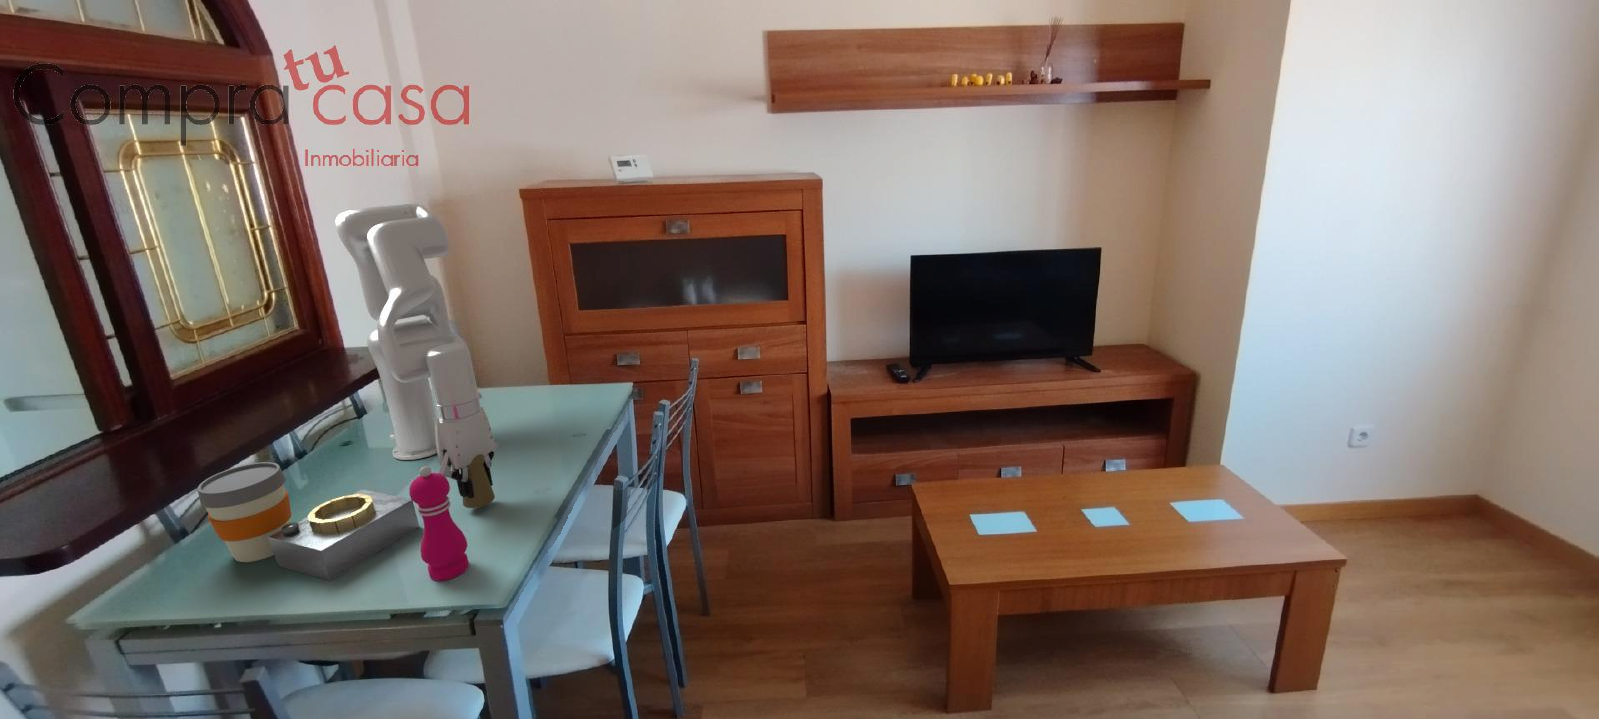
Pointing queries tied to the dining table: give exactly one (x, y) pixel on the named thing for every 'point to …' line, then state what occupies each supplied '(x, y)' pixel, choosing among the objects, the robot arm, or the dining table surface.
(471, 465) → the cork
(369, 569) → the dining table surface
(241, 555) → the reusable coffee cup
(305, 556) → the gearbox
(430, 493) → the pepper mill
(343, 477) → the dining table surface
